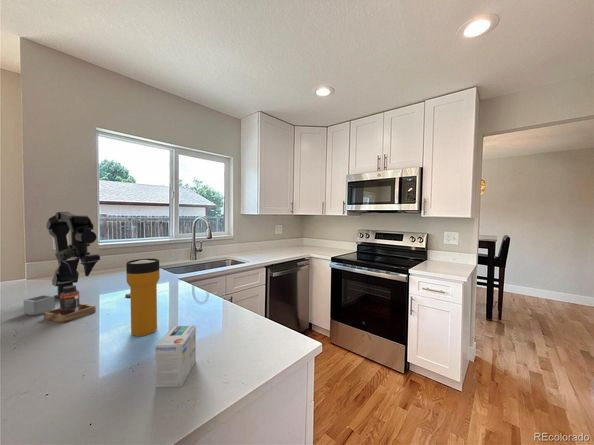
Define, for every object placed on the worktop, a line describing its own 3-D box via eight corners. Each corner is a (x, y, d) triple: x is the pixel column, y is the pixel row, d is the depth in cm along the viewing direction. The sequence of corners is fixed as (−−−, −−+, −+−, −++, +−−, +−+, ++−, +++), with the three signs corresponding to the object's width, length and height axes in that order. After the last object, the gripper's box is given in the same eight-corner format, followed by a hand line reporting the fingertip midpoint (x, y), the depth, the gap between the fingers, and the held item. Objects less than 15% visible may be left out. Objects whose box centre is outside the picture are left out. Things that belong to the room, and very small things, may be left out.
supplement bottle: (82, 312, 104) (82, 285, 103) (64, 317, 98) (63, 289, 98) (75, 309, 106) (75, 283, 106) (57, 314, 101) (56, 287, 101)
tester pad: (125, 297, 125) (125, 293, 125) (134, 293, 130) (134, 290, 130) (137, 298, 122) (137, 295, 122) (146, 295, 127) (146, 292, 127)
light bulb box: (172, 362, 71) (172, 325, 71) (196, 361, 72) (196, 324, 71) (154, 388, 60) (153, 345, 60) (182, 387, 61) (182, 344, 61)
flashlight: (119, 261, 85) (145, 256, 94) (120, 335, 86) (146, 323, 95) (140, 263, 82) (165, 258, 91) (141, 340, 83) (166, 327, 92)
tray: (43, 318, 99) (43, 312, 99) (77, 308, 110) (77, 302, 110) (63, 323, 95) (62, 316, 95) (95, 311, 106) (95, 305, 106)
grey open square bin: (23, 314, 103) (23, 299, 103) (44, 307, 110) (44, 294, 110) (34, 316, 101) (33, 301, 101) (55, 309, 108) (54, 296, 107)
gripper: (44, 243, 111) (45, 277, 111) (72, 245, 105) (73, 281, 106) (73, 240, 121) (74, 272, 122) (100, 242, 116) (101, 275, 116)
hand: (80, 275), depth 116 cm, fingers open, 9 cm apart
